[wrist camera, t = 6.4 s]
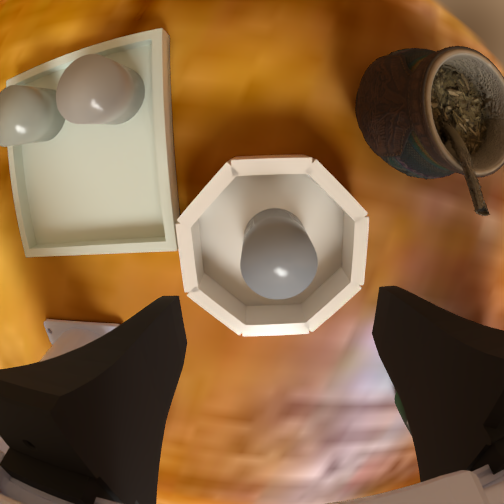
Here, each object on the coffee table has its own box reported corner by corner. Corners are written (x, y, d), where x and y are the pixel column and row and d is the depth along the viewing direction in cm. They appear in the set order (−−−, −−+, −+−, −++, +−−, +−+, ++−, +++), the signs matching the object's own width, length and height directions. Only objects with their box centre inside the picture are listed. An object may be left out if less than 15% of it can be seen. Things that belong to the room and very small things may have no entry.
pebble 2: (146, 119, 16) (117, 116, 12) (93, 129, 16) (57, 130, 12) (144, 62, 15) (116, 46, 11) (91, 75, 15) (56, 65, 11)
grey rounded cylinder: (306, 264, 19) (318, 295, 15) (247, 269, 19) (244, 302, 15) (303, 205, 18) (316, 224, 14) (240, 211, 18) (235, 231, 14)
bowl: (346, 305, 21) (357, 329, 18) (199, 311, 21) (192, 336, 18) (353, 155, 17) (370, 158, 14) (183, 160, 17) (169, 165, 15)
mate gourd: (448, 77, 15) (558, 64, 6) (437, 184, 18) (544, 232, 8) (349, 46, 15) (431, -18, 5) (337, 165, 18) (419, 202, 8)
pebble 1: (67, 135, 16) (29, 138, 12) (29, 146, 16) (-9, 152, 13) (66, 83, 15) (28, 76, 11) (27, 97, 15) (-11, 95, 11)
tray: (183, 241, 19) (177, 250, 18) (37, 249, 20) (25, 257, 18) (169, 35, 15) (162, 28, 13) (19, 82, 15) (6, 80, 14)
